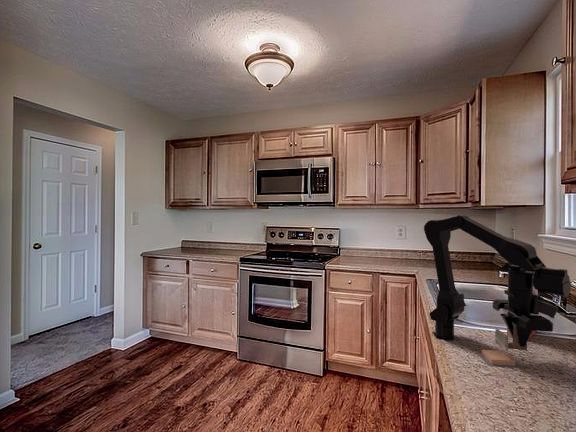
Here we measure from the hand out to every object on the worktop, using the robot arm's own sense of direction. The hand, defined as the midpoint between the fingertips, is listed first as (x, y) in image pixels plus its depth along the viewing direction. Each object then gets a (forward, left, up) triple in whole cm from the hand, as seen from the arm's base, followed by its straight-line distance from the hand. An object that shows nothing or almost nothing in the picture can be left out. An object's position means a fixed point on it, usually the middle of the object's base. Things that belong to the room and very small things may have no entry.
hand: (519, 344), depth 90 cm
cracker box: (-22, +12, -6) cm, 26 cm away
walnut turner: (0, -2, -1) cm, 2 cm away
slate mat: (0, -5, -5) cm, 7 cm away
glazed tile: (0, -3, -4) cm, 5 cm away
